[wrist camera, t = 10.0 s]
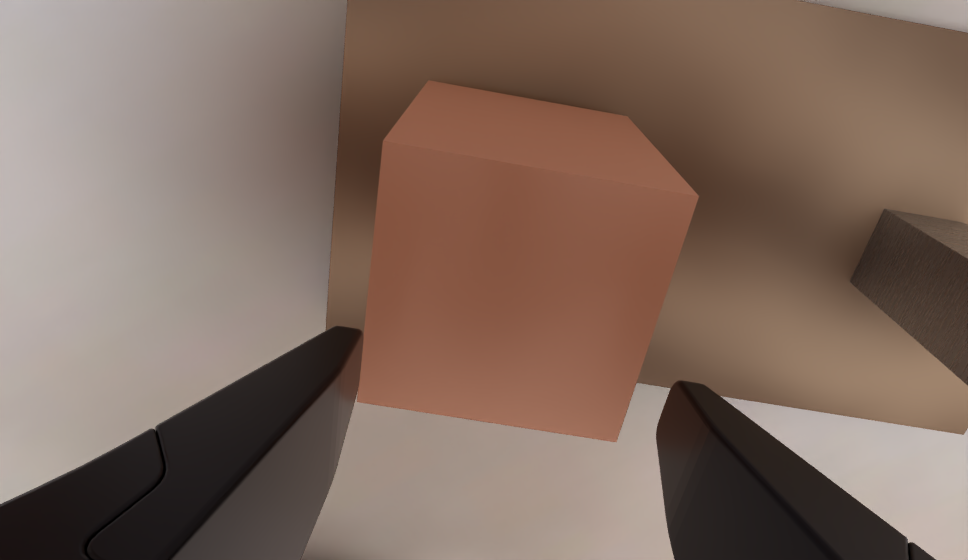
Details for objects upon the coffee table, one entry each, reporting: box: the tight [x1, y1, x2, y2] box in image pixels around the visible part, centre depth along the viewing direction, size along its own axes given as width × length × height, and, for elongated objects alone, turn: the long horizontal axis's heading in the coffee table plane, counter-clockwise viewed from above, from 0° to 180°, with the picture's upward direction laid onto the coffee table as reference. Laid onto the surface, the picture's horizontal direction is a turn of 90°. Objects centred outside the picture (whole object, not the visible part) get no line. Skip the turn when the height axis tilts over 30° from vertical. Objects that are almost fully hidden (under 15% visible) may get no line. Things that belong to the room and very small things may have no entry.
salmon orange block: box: [357, 80, 699, 442], centre depth 14 cm, size 5×5×7 cm
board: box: [326, 0, 968, 435], centre depth 19 cm, size 12×22×1 cm, turn 80°
